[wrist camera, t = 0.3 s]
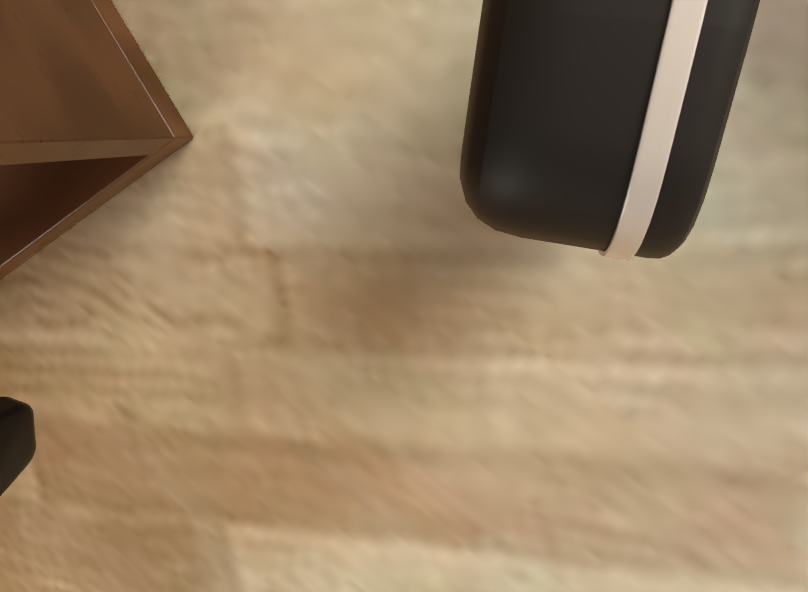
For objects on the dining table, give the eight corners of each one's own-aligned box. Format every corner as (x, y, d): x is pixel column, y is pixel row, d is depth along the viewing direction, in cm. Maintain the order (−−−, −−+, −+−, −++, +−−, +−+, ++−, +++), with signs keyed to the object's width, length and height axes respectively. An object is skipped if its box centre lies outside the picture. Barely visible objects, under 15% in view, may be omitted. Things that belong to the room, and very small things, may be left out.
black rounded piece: (534, -52, 18) (499, -322, 7) (669, -43, 17) (859, -328, 6) (495, 185, 20) (423, 252, 9) (614, 203, 19) (688, 298, 8)
